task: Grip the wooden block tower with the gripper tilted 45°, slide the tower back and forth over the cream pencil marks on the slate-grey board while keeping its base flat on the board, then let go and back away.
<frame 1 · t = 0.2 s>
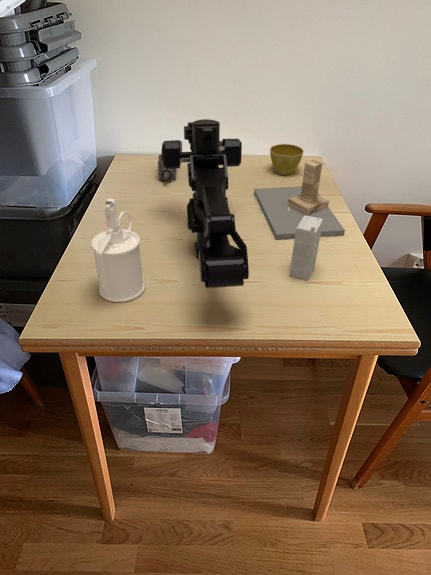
hand: (199, 142, 120), 17 cm above the table, tool horizontal, fingers open, 9 cm apart
skincare box: (302, 272, 103), on the table
caster wheel: (168, 177, 144), on the table
board: (295, 213, 125), on the table
wooden block tower: (307, 206, 125), point 2 cm above the table, touching board
smoke grenade: (120, 291, 97), on the table
flower pot: (284, 172, 147), on the table
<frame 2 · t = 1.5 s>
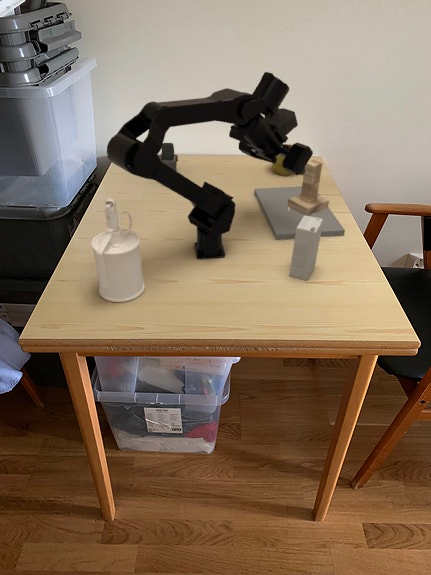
hand: (289, 167, 114), 14 cm above the table, tool tilted 45°, fingers open, 9 cm apart
nothing on the table moved.
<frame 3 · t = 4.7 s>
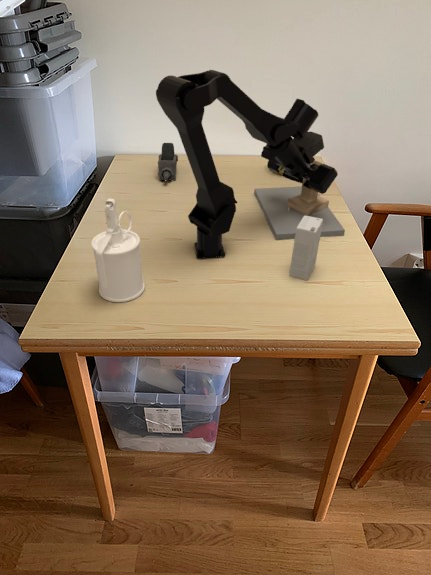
hand: (314, 185, 122), 7 cm above the table, tool tilted 45°, fingers closed on wooden block tower, 3 cm apart
wooden block tower: (307, 206, 125), point 2 cm above the table, touching board, gripper
everything else where it was.
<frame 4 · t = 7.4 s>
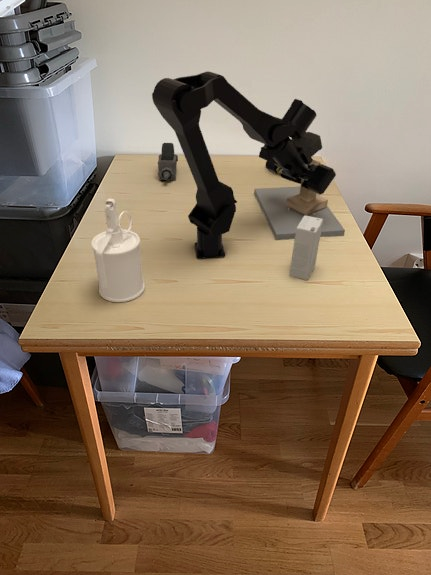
hand: (312, 186, 122), 7 cm above the table, tool tilted 45°, fingers closed on wooden block tower, 3 cm apart
wooden block tower: (306, 206, 124), point 2 cm above the table, touching gripper
everything else where it was.
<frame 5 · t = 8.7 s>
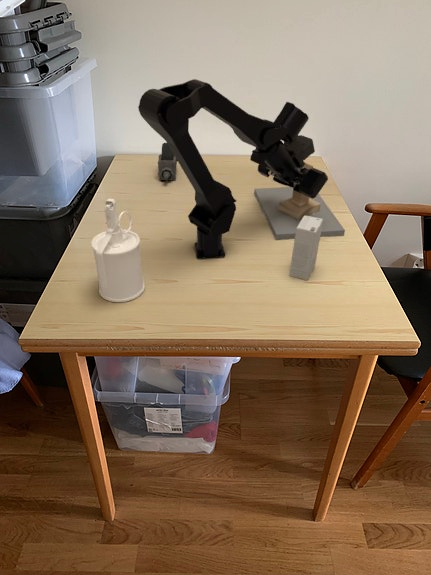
hand: (304, 190, 121), 7 cm above the table, tool tilted 45°, fingers closed on wooden block tower, 3 cm apart
wooden block tower: (299, 210, 123), point 2 cm above the table, touching gripper
everything else where it was.
when the fingers open (7 cm above the table, at t = 10.1 s): wooden block tower stays where it is, resting on board.
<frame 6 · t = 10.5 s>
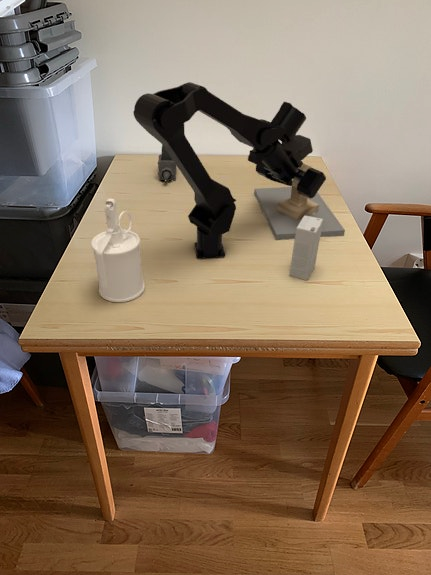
hand: (303, 189, 120), 7 cm above the table, tool tilted 45°, fingers open, 8 cm apart
wooden block tower: (297, 210, 123), point 2 cm above the table, touching board
everything else where it was.
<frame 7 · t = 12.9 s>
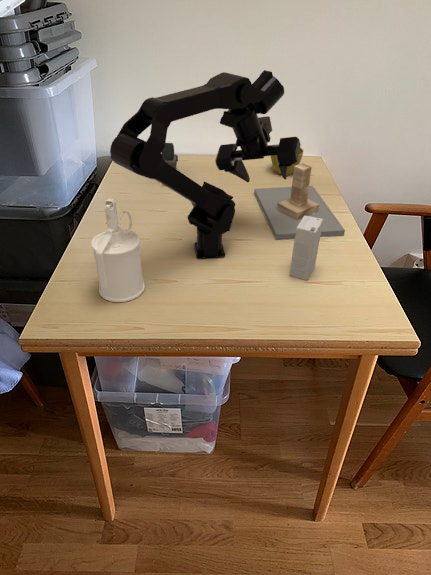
hand: (266, 179, 113), 12 cm above the table, tool tilted 30°, fingers open, 9 cm apart
nothing on the table moved.
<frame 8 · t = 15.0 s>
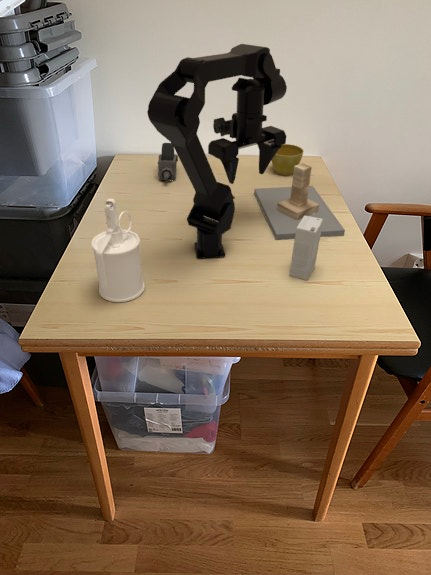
hand: (246, 178, 111), 13 cm above the table, tool pointing down, fingers open, 9 cm apart
nothing on the table moved.
at the end: wooden block tower inside the target area on the board (1.7 cm from its centre), point 1.5 cm above the board's base; wooden block tower tilted 0°; wooden block tower moved 3.8 cm from its start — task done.
